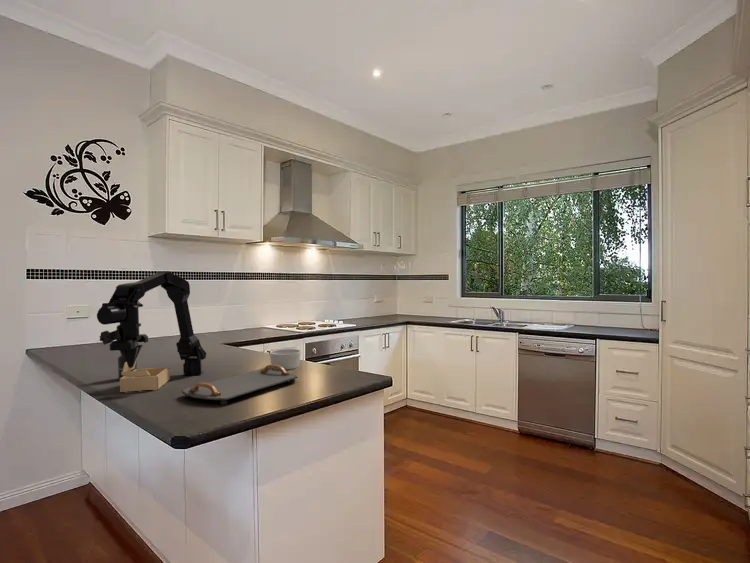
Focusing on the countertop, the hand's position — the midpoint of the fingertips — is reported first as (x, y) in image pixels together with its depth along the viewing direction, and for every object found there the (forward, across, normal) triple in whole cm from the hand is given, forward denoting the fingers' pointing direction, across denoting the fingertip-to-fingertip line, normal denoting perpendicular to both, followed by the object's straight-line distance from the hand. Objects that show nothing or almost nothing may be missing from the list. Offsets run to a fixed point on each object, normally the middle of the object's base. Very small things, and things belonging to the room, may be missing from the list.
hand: (130, 367), depth 150 cm
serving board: (+10, +1, +36) cm, 38 cm away
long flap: (+4, -15, -6) cm, 16 cm away
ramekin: (+10, -33, +51) cm, 61 cm away
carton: (+10, -15, 0) cm, 18 cm away
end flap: (+4, -7, 0) cm, 8 cm away
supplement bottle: (+10, -31, -11) cm, 34 cm away
